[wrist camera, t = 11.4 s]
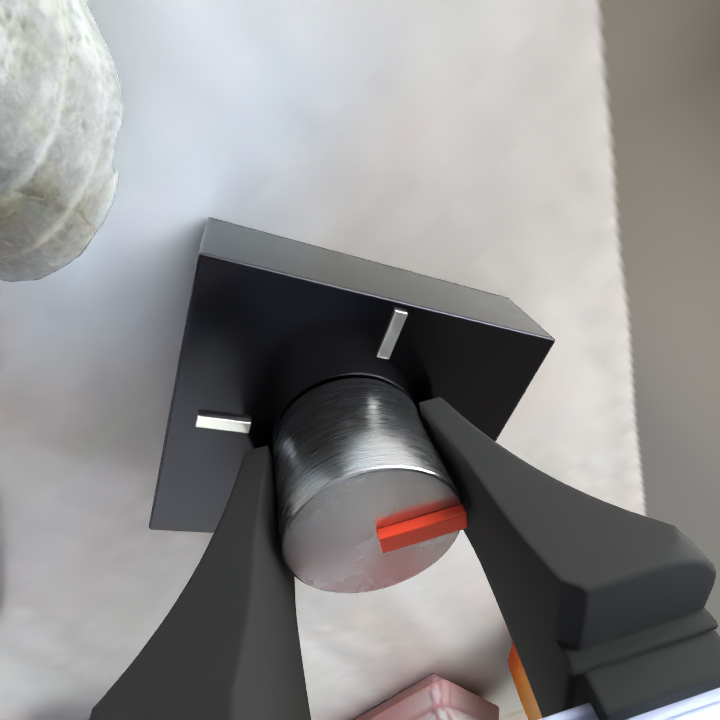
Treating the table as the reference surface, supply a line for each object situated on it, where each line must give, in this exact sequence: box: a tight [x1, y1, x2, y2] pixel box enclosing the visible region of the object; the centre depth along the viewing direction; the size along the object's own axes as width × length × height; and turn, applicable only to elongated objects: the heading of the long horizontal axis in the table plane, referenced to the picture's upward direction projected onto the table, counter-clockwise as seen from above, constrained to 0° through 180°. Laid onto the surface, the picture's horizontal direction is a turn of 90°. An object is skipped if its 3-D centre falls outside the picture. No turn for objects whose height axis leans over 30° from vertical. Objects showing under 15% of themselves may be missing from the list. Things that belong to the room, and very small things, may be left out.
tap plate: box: [149, 218, 555, 533], centre depth 15 cm, size 10×9×3 cm
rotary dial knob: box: [273, 378, 468, 593], centre depth 12 cm, size 4×4×4 cm
